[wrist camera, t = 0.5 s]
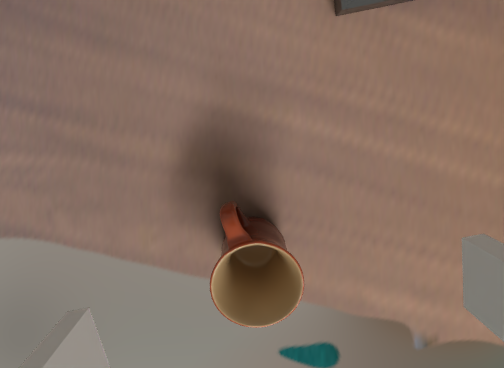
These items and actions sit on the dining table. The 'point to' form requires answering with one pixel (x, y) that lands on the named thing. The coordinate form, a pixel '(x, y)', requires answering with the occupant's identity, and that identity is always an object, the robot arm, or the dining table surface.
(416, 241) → the dining table surface
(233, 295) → the mug
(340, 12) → the console board
